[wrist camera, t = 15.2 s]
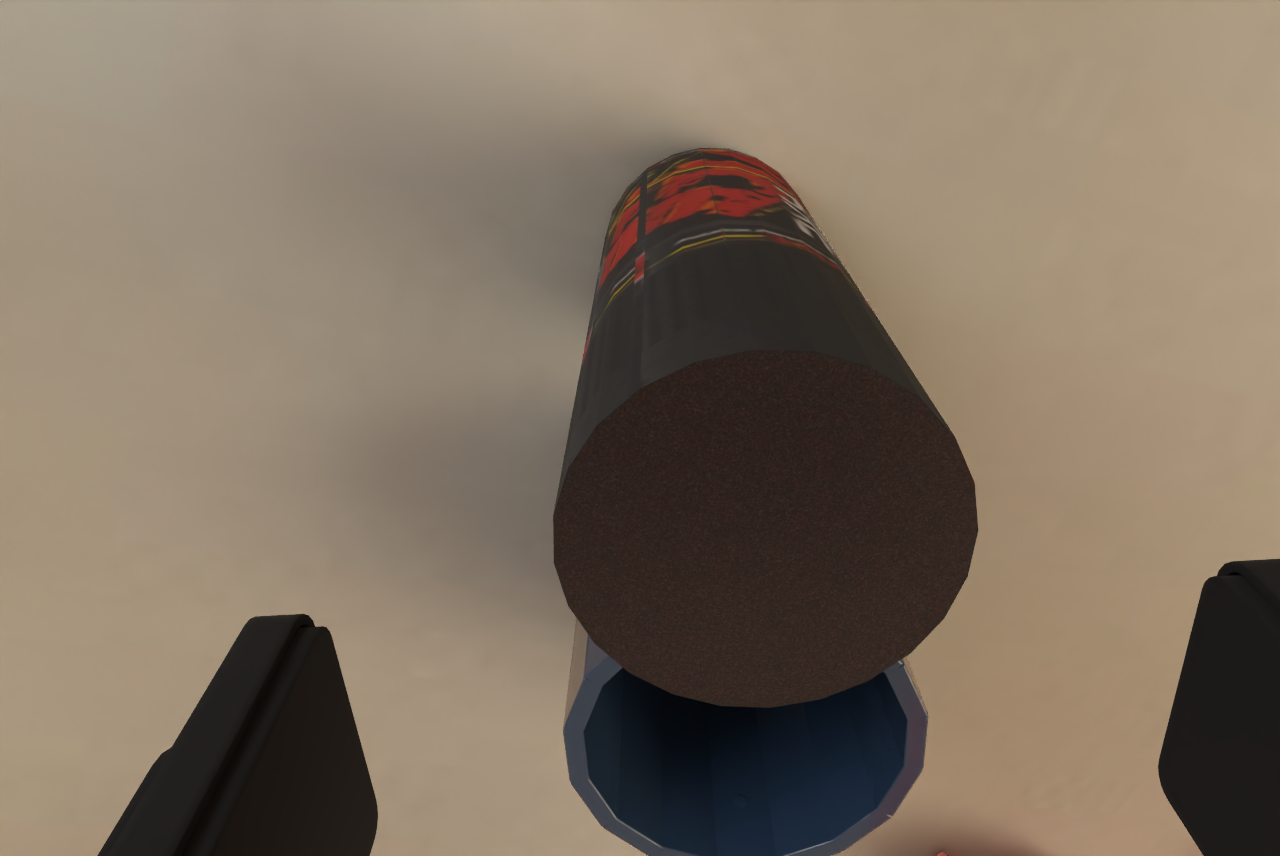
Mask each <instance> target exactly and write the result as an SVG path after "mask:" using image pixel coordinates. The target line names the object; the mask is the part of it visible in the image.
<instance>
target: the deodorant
mask: <svg viewBox="0 0 1280 856" xmlns="http://www.w3.org/2000/svg"><path fill="white" fill-rule="evenodd" d="M553 525H554V564H555V567H556V570H557V573H558V576H559V579H560V582H561V585H562V588H563V591H564V594H565V597H566V600H567V603H568V606H569V608H570V609H571V610H572V612H573V613H574V615H575V616H576V618H577V619H578V621H579V622H580V623H581V625H582V626H583V628H584V629H585V631H586V632H587V634H588V635H589V636H590V638H591V639H592V641H593V642H594V643H595V644H596V645H597V646H598V647H599V648H600V649H602V650H603V651H604V652H605V653H606V654H608V655H609V656H610V657H611V658H612V659H614V660H615V661H616V662H617V663H618V664H619V665H621V666H622V667H623V668H624V669H625V670H627V671H628V672H629V673H630V674H632V675H635V676H637V677H639V678H641V679H643V680H645V681H647V682H649V683H651V684H653V685H655V686H657V687H659V688H661V689H663V690H665V691H667V692H669V693H671V694H673V695H678V696H682V697H686V698H690V699H694V700H698V701H702V702H706V703H710V704H714V705H718V706H733V707H763V708H772V707H778V706H784V705H790V704H796V703H802V702H808V701H814V700H820V699H823V698H826V697H828V696H831V695H833V694H836V693H839V692H841V691H844V690H846V689H849V688H851V687H854V686H857V685H859V684H862V683H864V682H867V681H869V680H870V679H872V678H873V677H875V676H877V675H878V674H880V673H881V672H883V671H884V670H886V669H887V668H889V667H890V666H892V665H894V664H895V663H897V662H898V661H900V660H901V659H903V658H904V657H906V656H907V655H909V654H910V653H911V652H912V651H913V650H914V649H915V648H916V647H917V646H918V645H919V644H920V643H921V642H922V641H923V640H924V639H925V638H926V637H927V636H928V635H929V634H930V633H931V631H932V630H933V629H934V628H935V627H936V626H937V625H938V624H939V623H940V622H941V621H942V620H943V619H944V618H945V616H946V614H947V612H948V610H949V609H950V607H951V605H952V603H953V602H954V600H955V598H956V596H957V594H958V593H959V591H960V589H961V587H962V585H963V584H964V582H965V580H966V578H967V577H968V572H969V568H970V563H971V559H972V555H973V550H974V546H975V542H976V537H977V533H978V522H977V509H976V496H975V483H974V480H973V478H972V476H971V473H970V471H969V469H968V466H967V464H966V462H965V459H964V457H963V455H962V452H961V450H960V448H959V445H958V443H957V441H956V438H955V436H954V435H953V433H952V432H951V430H950V429H949V427H948V426H947V424H946V423H945V421H944V419H943V418H942V416H941V415H940V413H939V412H938V410H937V409H936V407H935V406H934V404H933V403H932V401H931V400H930V398H929V396H928V395H927V393H926V392H925V390H924V389H923V387H922V386H921V384H920V383H919V381H918V380H917V378H916V376H915V375H914V373H913V372H912V370H911V369H910V367H909V366H908V364H907V363H906V361H905V360H904V358H903V356H902V355H901V353H900V352H899V350H898V349H897V347H896V346H895V344H894V343H893V341H892V340H891V338H890V337H889V335H888V333H887V332H886V330H885V329H884V327H883V326H882V324H881V323H880V321H879V320H878V318H877V317H876V315H875V313H874V312H873V310H872V309H871V307H870V306H869V304H868V303H867V301H866V300H865V298H864V297H863V295H862V294H861V292H860V290H859V289H858V287H857V286H856V284H855V283H854V281H853V280H852V278H851V277H850V275H849V274H848V272H847V270H846V269H845V267H844V266H843V264H842V263H841V261H840V260H839V258H838V257H837V255H836V254H835V252H834V250H833V249H832V247H831V246H830V244H829V243H828V241H827V240H826V238H825V237H824V235H823V234H822V232H821V231H820V229H819V227H818V226H817V224H816V223H815V221H814V220H813V218H812V217H811V215H810V214H809V212H808V211H807V209H806V207H805V206H804V204H803V203H802V201H801V200H800V198H799V197H798V195H797V194H796V192H795V191H794V190H793V189H792V188H791V187H790V185H789V184H788V183H787V182H786V181H785V180H784V178H783V177H782V176H781V175H780V174H779V173H778V172H777V171H775V170H774V169H772V168H771V167H769V166H768V165H766V164H765V163H763V162H762V161H760V160H759V159H757V158H755V157H752V156H749V155H746V154H743V153H740V152H737V151H733V150H730V149H711V148H699V149H695V150H690V151H686V152H682V153H678V154H674V155H672V156H670V157H668V158H666V159H664V160H662V161H660V162H659V163H657V164H655V165H653V166H651V167H649V168H648V169H646V170H645V171H644V172H643V173H642V174H641V175H640V176H639V177H638V178H637V179H636V180H635V181H634V182H633V183H632V184H631V185H630V186H629V187H628V188H627V189H626V191H625V192H624V194H623V196H622V197H621V199H620V200H619V202H618V204H617V205H616V207H615V209H614V210H613V212H612V216H611V219H610V223H609V226H608V230H607V233H606V237H605V242H604V247H603V252H602V258H601V263H600V268H599V274H598V279H597V284H596V290H595V295H594V301H593V306H592V311H591V317H590V322H589V327H588V333H587V338H586V344H585V349H584V354H583V360H582V365H581V370H580V376H579V381H578V386H577V392H576V397H575V403H574V408H573V413H572V419H571V424H570V429H569V435H568V440H567V445H566V451H565V456H564V462H563V467H562V472H561V478H560V483H559V488H558V494H557V499H556V504H555V510H554V515H553Z"/></svg>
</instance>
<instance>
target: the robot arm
mask: <svg viewBox="0 0 1280 856" xmlns="http://www.w3.org/2000/svg"><path fill="white" fill-rule="evenodd" d="M1158 769H1159V778H1160V782H1161V786H1162V788H1163V791H1164V793H1165V795H1166V797H1167V799H1168V801H1169V802H1170V804H1171V806H1172V807H1173V809H1174V810H1175V812H1176V813H1177V815H1178V816H1179V818H1180V820H1181V821H1182V823H1183V824H1184V826H1185V827H1186V829H1187V830H1188V832H1189V834H1190V835H1191V837H1192V838H1193V840H1194V841H1195V843H1196V845H1197V846H1198V848H1199V849H1200V851H1201V852H1202V854H1203V855H1204V856H1280V559H1269V560H1251V561H1233V562H1229V563H1226V564H1224V565H1223V566H1222V568H1221V569H1220V570H1219V572H1218V574H1217V576H1214V577H1211V578H1209V579H1208V580H1207V581H1206V582H1205V583H1204V586H1203V588H1202V592H1201V596H1200V600H1199V604H1198V608H1197V611H1196V615H1195V619H1194V623H1193V627H1192V631H1191V635H1190V639H1189V643H1188V647H1187V651H1186V655H1185V659H1184V663H1183V667H1182V671H1181V675H1180V679H1179V683H1178V687H1177V691H1176V695H1175V699H1174V703H1173V707H1172V710H1171V714H1170V718H1169V722H1168V726H1167V730H1166V734H1165V738H1164V742H1163V746H1162V750H1161V754H1160V758H1159V765H1158ZM377 820H378V811H377V802H376V798H375V794H374V790H373V787H372V783H371V779H370V775H369V772H368V768H367V764H366V761H365V757H364V753H363V750H362V746H361V742H360V739H359V735H358V731H357V728H356V724H355V720H354V717H353V713H352V709H351V706H350V702H349V698H348V695H347V691H346V687H345V684H344V680H343V676H342V673H341V669H340V665H339V662H338V658H337V654H336V651H335V647H334V643H333V640H332V636H331V634H330V631H329V630H328V629H327V627H315V625H314V622H313V620H312V619H311V618H310V617H309V615H306V614H295V615H277V616H259V617H254V618H251V619H250V620H249V621H248V622H247V623H246V624H245V626H244V627H243V629H242V631H241V632H240V634H239V636H238V637H237V639H236V641H235V642H234V644H233V646H232V647H231V649H230V651H229V652H228V654H227V656H226V657H225V659H224V661H223V662H222V664H221V666H220V667H219V669H218V671H217V672H216V674H215V676H214V678H213V679H212V681H211V683H210V684H209V686H208V688H207V689H206V691H205V693H204V694H203V696H202V698H201V699H200V701H199V703H198V704H197V706H196V708H195V709H194V711H193V713H192V714H191V716H190V718H189V719H188V721H187V723H186V724H185V726H184V728H183V729H182V731H181V733H180V734H179V736H178V738H177V739H176V741H175V743H174V744H173V746H172V747H171V748H170V749H168V750H167V751H165V752H164V753H162V754H161V755H160V757H159V758H158V759H157V760H156V762H155V763H154V764H153V766H152V767H151V769H150V770H149V772H148V774H147V775H146V777H145V778H144V780H143V782H142V783H141V785H140V787H139V788H138V790H137V792H136V793H135V795H134V797H133V798H132V800H131V801H130V803H129V805H128V806H127V808H126V810H125V811H124V813H123V815H122V816H121V818H120V820H119V821H118V823H117V825H116V826H115V828H114V829H113V831H112V833H111V834H110V836H109V838H108V839H107V841H106V843H105V844H104V846H103V848H102V849H101V851H100V852H99V854H98V856H370V853H371V849H372V846H373V843H374V839H375V835H376V830H377Z"/></svg>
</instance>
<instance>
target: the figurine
mask: <svg viewBox="0 0 1280 856" xmlns="http://www.w3.org/2000/svg"><path fill="white" fill-rule="evenodd" d="M937 856H947V854H946V853H945V852H941V853H939V854H938V855H937Z"/></svg>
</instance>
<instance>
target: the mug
mask: <svg viewBox="0 0 1280 856" xmlns="http://www.w3.org/2000/svg"><path fill="white" fill-rule="evenodd" d="M927 724H928V712H927V710H926V707H925V704H924V702H923V699H922V696H921V694H920V691H919V688H918V686H917V683H916V680H915V678H914V675H913V672H912V669H911V667H910V664H909V661H908V659H907V656H906V657H904V658H903V659H901V660H900V661H898V662H897V663H895V664H894V665H892V666H890V667H889V668H887V669H886V670H884V671H883V672H881V673H880V674H878V675H877V676H875V677H873V678H872V679H870V680H869V681H867V682H864V683H862V684H859V685H857V686H854V687H851V688H849V689H846V690H844V691H841V692H839V693H836V694H833V695H831V696H828V697H826V698H823V699H820V700H814V701H808V702H802V703H796V704H790V705H784V706H778V707H772V708H763V707H733V706H718V705H714V704H710V703H706V702H702V701H698V700H694V699H690V698H686V697H682V696H678V695H673V694H671V693H669V692H667V691H665V690H663V689H661V688H659V687H657V686H655V685H653V684H651V683H649V682H647V681H645V680H643V679H641V678H639V677H637V676H635V675H632V674H630V673H629V672H628V671H627V670H625V669H624V668H623V667H622V666H621V665H619V664H618V663H617V662H616V661H615V660H614V659H612V658H611V657H610V656H609V655H608V654H606V653H605V652H604V651H603V650H602V649H600V648H599V647H598V646H597V645H596V644H595V643H594V642H593V641H592V639H591V638H590V636H589V635H588V634H587V632H586V631H585V629H584V628H583V626H582V625H581V623H580V622H579V621H578V619H577V618H576V626H575V635H574V643H573V651H572V660H571V668H570V676H569V685H568V693H567V701H566V710H565V718H564V726H563V736H564V743H565V750H566V758H567V765H568V772H569V779H570V782H571V784H572V786H573V787H574V789H575V790H576V791H577V793H578V794H579V796H580V797H581V798H582V800H583V801H584V802H585V804H586V805H587V807H588V808H589V809H590V811H591V812H592V814H593V815H594V816H595V818H596V819H597V821H598V822H599V823H600V825H601V826H603V828H604V829H606V830H608V831H609V832H611V833H612V834H614V835H616V836H617V837H619V838H621V839H622V840H624V841H625V842H627V843H629V844H630V845H632V846H633V847H635V848H637V849H638V850H640V851H642V852H643V853H645V854H646V855H648V856H831V855H834V854H837V853H840V852H841V851H844V850H846V849H847V848H848V847H850V846H851V845H853V844H854V843H856V842H857V841H858V840H860V839H861V838H863V837H864V836H866V835H867V834H868V833H870V832H871V831H873V830H874V829H876V828H877V827H878V826H880V825H881V824H883V823H884V822H886V821H887V820H888V819H890V818H891V816H893V815H894V813H895V812H896V810H897V809H898V807H899V806H900V804H901V803H902V801H903V800H904V798H905V796H906V795H907V793H908V792H909V790H910V789H911V787H912V786H913V784H914V783H915V781H916V780H917V778H918V777H919V775H920V773H921V772H922V769H923V766H924V756H925V745H926V735H927Z"/></svg>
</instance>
